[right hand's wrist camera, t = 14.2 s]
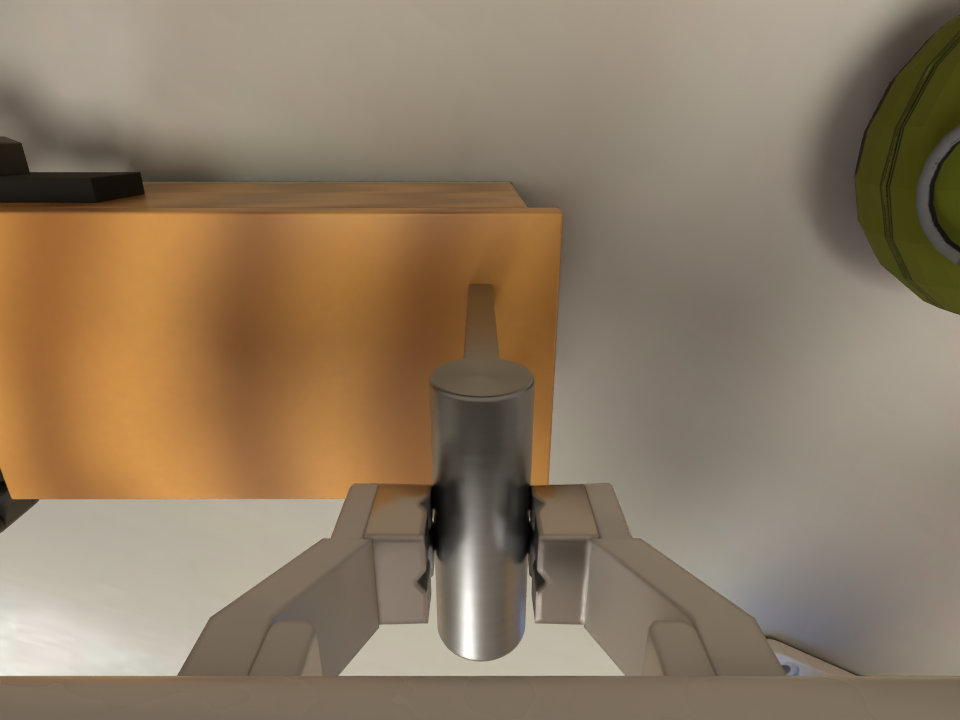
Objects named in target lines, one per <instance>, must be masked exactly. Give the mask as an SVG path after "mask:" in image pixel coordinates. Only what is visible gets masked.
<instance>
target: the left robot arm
mask: <svg viewBox="0 0 960 720" xmlns="http://www.w3.org/2000/svg"><path fill="white" fill-rule="evenodd" d="M143 194H145V192H144V187H143V182H142V177H141V173H140V172H29V168H28V165H27V161H26V158H25V154H24V151H23V147H22V144H21V143H20V142H17V141H14V140H12V139H9V138H6V137H0V203H99V202H104V201H110V200H115V199H121V198H126V197H132V196H137V195H143ZM38 501H39V499H12V498H11V496H10V493H9V491H8V488H7V485H6V482H5V480H4V477H3V474H2V472H1V469H0V533H1V532H3V531H4V530H5V529H6V528H7V527H9V526H10V525H11V524H12V523H13V522H15V521H16V520H17V519H18V518H19V517H21V516H22V515H23V514H24V513H25V512H27V511H28V510H29V509H30V508H31V507H32V506H34V505H35V504H36V503H37V502H38Z"/></svg>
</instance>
